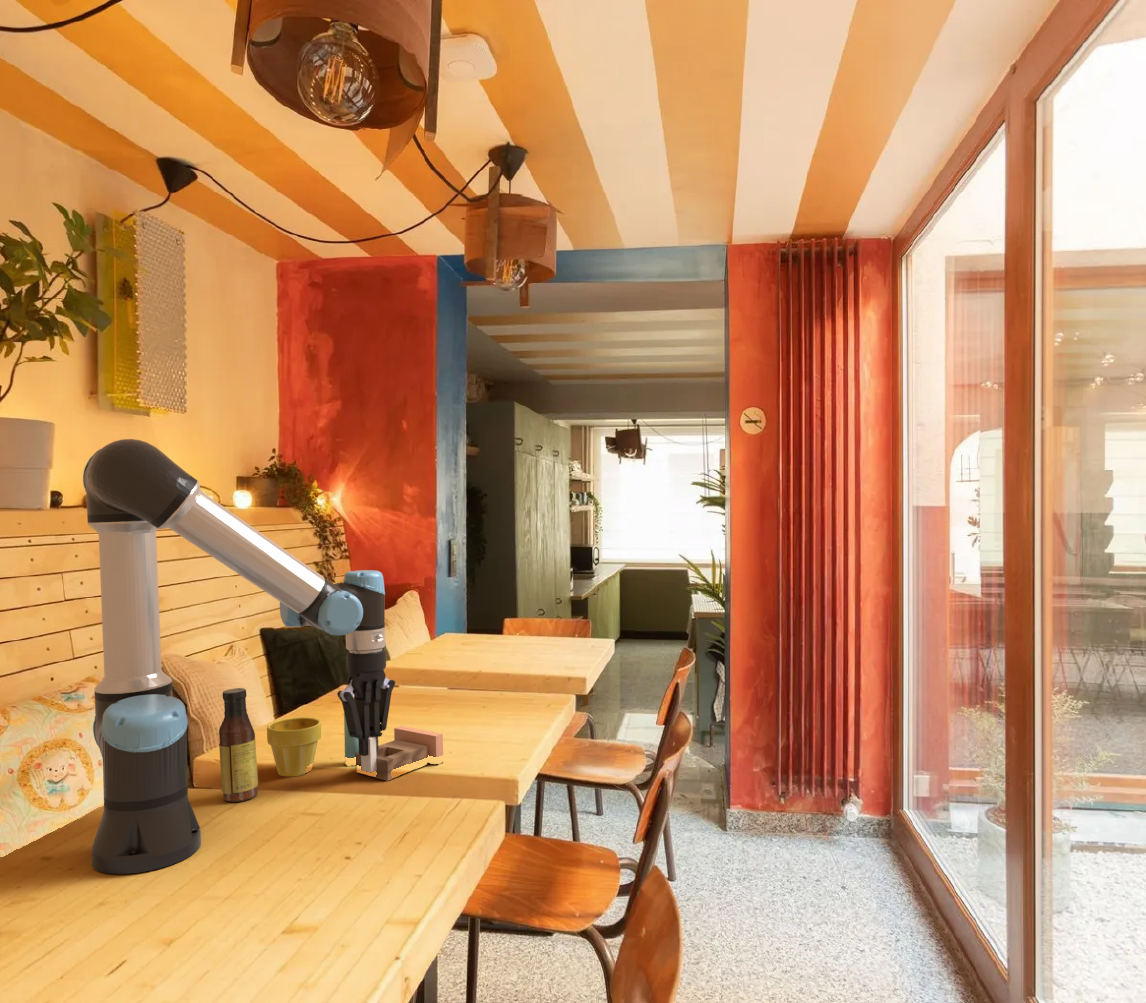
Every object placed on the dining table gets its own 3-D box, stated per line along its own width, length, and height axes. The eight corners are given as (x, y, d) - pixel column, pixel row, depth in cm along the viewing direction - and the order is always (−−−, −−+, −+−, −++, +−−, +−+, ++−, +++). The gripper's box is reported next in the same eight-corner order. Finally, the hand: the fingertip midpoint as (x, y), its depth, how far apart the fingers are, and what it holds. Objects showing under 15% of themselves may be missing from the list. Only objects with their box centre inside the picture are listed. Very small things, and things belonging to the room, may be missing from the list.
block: (387, 780, 161) (387, 760, 161) (355, 773, 166) (355, 753, 166) (427, 765, 170) (427, 746, 170) (396, 758, 175) (396, 739, 175)
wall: (436, 765, 170) (435, 736, 170) (394, 756, 177) (394, 728, 177) (443, 762, 172) (442, 733, 172) (401, 754, 178) (401, 726, 178)
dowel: (351, 767, 170) (350, 708, 170) (341, 764, 172) (340, 706, 172) (363, 763, 173) (362, 705, 173) (353, 760, 174) (352, 703, 174)
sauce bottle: (264, 791, 156) (262, 686, 156) (248, 804, 150) (245, 693, 150) (231, 791, 157) (228, 686, 157) (213, 803, 151) (211, 693, 151)
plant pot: (312, 780, 163) (311, 729, 163) (259, 780, 163) (258, 730, 163) (328, 763, 173) (327, 716, 173) (279, 763, 173) (278, 716, 173)
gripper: (353, 657, 155) (356, 783, 155) (404, 646, 166) (407, 764, 166) (326, 653, 159) (329, 777, 159) (377, 643, 170) (380, 758, 170)
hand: (369, 770), depth 163 cm, fingers closed
